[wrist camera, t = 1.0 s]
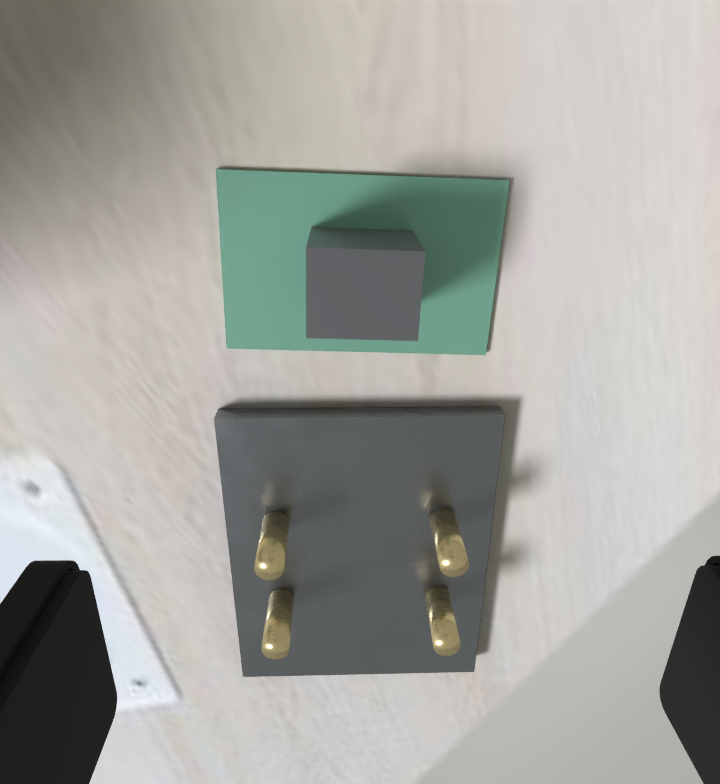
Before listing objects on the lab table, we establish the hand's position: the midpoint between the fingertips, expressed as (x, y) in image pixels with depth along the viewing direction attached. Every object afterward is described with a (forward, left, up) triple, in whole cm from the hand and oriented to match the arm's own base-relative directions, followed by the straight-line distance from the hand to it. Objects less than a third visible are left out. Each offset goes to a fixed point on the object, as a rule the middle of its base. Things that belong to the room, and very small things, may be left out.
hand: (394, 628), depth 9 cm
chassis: (+18, 0, -23) cm, 29 cm away
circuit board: (0, 0, -24) cm, 24 cm away
